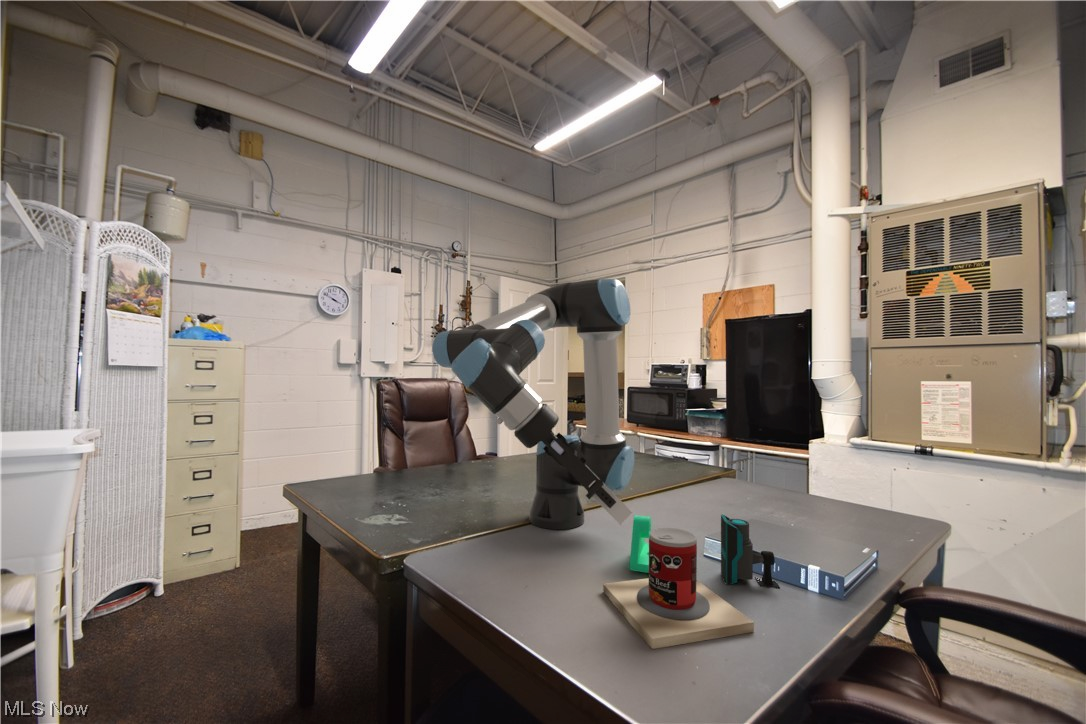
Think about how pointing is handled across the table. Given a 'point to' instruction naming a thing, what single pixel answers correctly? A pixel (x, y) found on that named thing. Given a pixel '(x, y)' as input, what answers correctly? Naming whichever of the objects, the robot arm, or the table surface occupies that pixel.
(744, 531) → the surveillance camera
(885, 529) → the table surface
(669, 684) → the table surface
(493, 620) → the table surface
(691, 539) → the canned food
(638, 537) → the camera mount
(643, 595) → the wooden square board
